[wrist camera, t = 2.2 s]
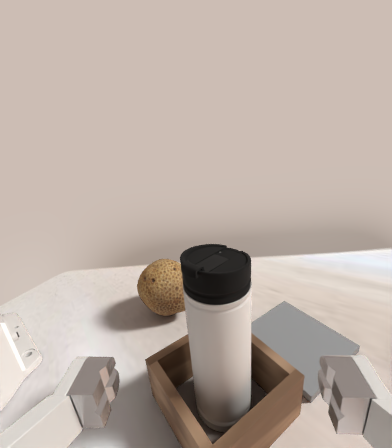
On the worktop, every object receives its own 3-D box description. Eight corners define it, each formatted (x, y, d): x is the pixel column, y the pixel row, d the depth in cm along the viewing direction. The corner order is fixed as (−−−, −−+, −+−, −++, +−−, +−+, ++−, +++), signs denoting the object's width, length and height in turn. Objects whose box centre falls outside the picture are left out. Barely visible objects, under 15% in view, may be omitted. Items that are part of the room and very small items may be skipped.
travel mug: (183, 408, 29) (160, 256, 22) (218, 368, 34) (210, 230, 26) (226, 451, 25) (217, 282, 18) (261, 399, 30) (265, 246, 22)
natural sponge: (148, 295, 49) (139, 249, 46) (194, 292, 49) (189, 246, 45) (138, 331, 41) (127, 279, 37) (193, 328, 41) (188, 274, 37)
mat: (237, 337, 38) (236, 332, 38) (284, 305, 44) (284, 300, 43) (310, 402, 29) (311, 396, 29) (358, 351, 34) (359, 345, 34)
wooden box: (152, 395, 31) (145, 359, 29) (226, 344, 37) (225, 311, 35) (214, 505, 22) (210, 466, 20) (300, 414, 28) (304, 375, 26)
